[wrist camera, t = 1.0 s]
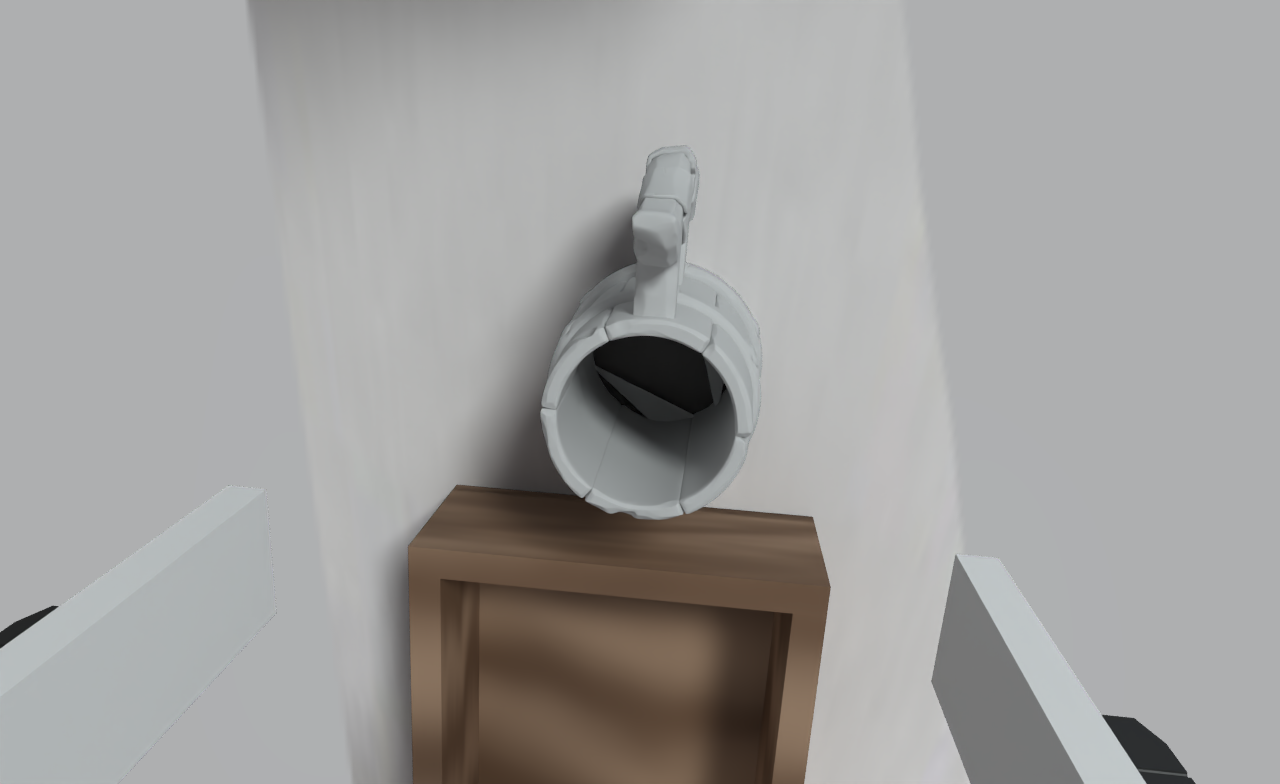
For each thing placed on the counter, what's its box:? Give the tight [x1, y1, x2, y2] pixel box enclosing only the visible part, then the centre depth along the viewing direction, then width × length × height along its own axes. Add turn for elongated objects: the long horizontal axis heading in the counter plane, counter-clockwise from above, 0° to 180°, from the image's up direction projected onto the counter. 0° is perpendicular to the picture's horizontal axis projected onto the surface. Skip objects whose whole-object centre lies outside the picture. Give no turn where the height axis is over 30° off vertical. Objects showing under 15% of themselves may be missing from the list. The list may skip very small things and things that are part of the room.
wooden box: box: [408, 485, 831, 784], centre depth 36 cm, size 18×15×6 cm
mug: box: [540, 146, 762, 520], centre depth 28 cm, size 8×12×12 cm, turn 177°
